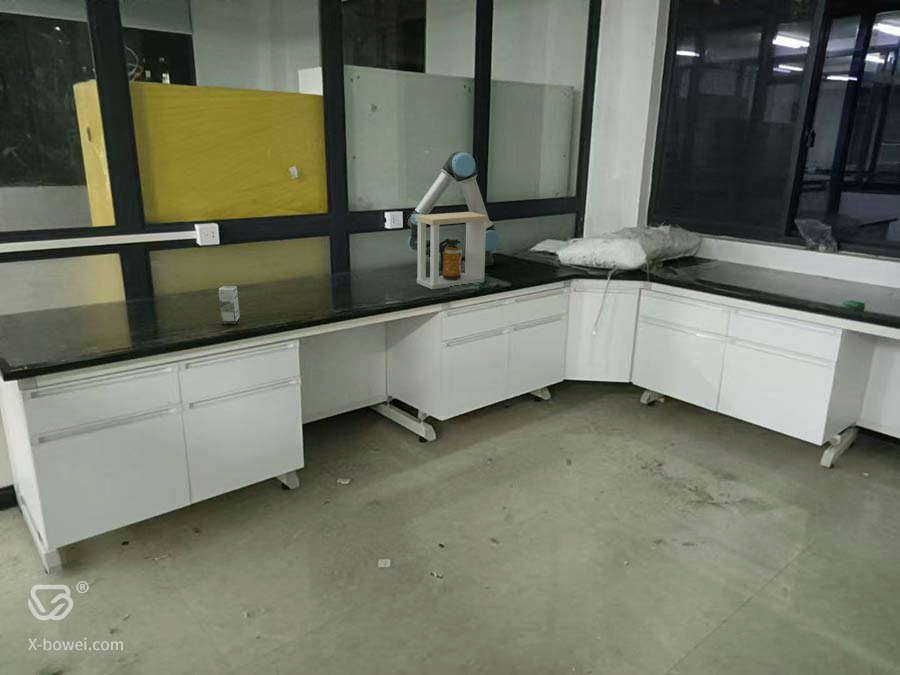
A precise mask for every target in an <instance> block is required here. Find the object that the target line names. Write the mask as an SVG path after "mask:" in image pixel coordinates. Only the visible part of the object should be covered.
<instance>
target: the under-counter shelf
mask: <svg viewBox="0 0 900 675" xmlns="http://www.w3.org/2000/svg"><path fill="white" fill-rule="evenodd" d="M487 215H488V214H487ZM487 215H482V214H478V213H473V212H470V211H462V212H461V211H460V212H459V211H458V212H446V213H434V214H433V213H431V214H430V213H429V214H428V215H416V216H415V221H418V251H417V278H416V284H418V285H421V286H422V287H423V286H424V287H426V288H429V289H431V290H438V289H443V288H444V289H445V288H451V287H450V286H452V287H455V286H454V285H459V286H462V285H461V284H466V285H469V284H468V283H473V284H476V283H475V282H480V283H485V271H486V270H485V268H486V266H485V243H486V221H488V218H489V215H488V216H487ZM463 223H465V258H464V259H465V260H464V262H465V263H464V264H465V265H464V272H461V278H459V279H457V280H447V279H445V278H443V275H440V272H439V271H440V270H439V268H440V258H439V243H440V225H451V224H452V225H453V224H463ZM427 225H430V239H429V240H430V257H429V260H430V262H429V263H430V264H429V277H428V276H427V270H426V269H427V266H426V265H427V255H426V239H427Z"/></svg>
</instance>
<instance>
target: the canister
mask: <svg viewBox="0 0 900 675" xmlns="http://www.w3.org/2000/svg"><path fill="white" fill-rule="evenodd" d="M459 244H461V241H460V240H459V239H448V238H446V239H444V240H443V241H441V242H439V245H440V248H441V250H440V260H439V271H441V272H442V276H443V278H445V279H447V280H457V279H459V278H461V273H462V255H461V253H460V249H461V248H460V246H458V245H459ZM443 248H445V250H444V252H443Z"/></svg>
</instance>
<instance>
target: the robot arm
mask: <svg viewBox="0 0 900 675" xmlns="http://www.w3.org/2000/svg"><path fill="white" fill-rule="evenodd" d="M440 171H441V172H440V173H439V175H438V176H437V178H436V179H435V181H434V182H433V183H432V184H431V185H430V187H429V189H428V190H427V192H426V193H425V194H424V196H423V198H422V199H421V200H420V202H419V203H418V204H417V206H416V207H415V209H414V210H413V211H412V213H411V214H410V215H411V216H410V217H409V219H408V223H407V225H408V227H409V226H410V227H409V228H410V236H409V238H408V239H407V247H408V248H410V249H411V250H413V251H416V252H418V221H415V216H416V215H430V213H431V211H432V210H433V208H434V207H435V206H436V204H437V203H438V201H439V200H440V199H441V198H442V196H443V195H444V193H445V192H446V190H447V189H448V188H449V186H450V185H451V184H452V182H453V181H456V183H457V184H459V185H460V188H461V190H462V193H463V196H464V200H465V201H466V202H465V203H466V206H467V208H468V212H473V213H478V214H482V215H487V216H488V221H486V243H485V267H488V266H493V265H494V257H493V254H492V251H494V250H496V249H497V248H498V247H499V245H500V243H501V237H500V235H499V233H498V232H497V230H496V227H495V224H494V222H492V221H491V220H490V217H489V215H488V212H487V210H486V207H485V204H484V201H483V197H482V194H481V191H480V188H479V185H478V182H477V179H476V178H477V176H478V173H477V169H476V161H475V159H474V157H473V156H472V155H471V154H470V153H468V152H463V151H455V152H453V153H451V154H450V156H449V157H448V158H447V160H446V162H444V165H443V166H442V167H441V169H440ZM440 250H441V248H440V245H439V259H441V255H440ZM444 250H445V248H443V253H444ZM460 253H461V256H463V249H461V248H460ZM426 256H428V258H430V239H427V238H426Z"/></svg>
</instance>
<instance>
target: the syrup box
mask: <svg viewBox="0 0 900 675" xmlns="http://www.w3.org/2000/svg"><path fill="white" fill-rule="evenodd" d="M238 293H239V292H238V286H236V285H222V286H221V287H219V288H218V297H219V310H220V317H221V318H220V319H221V322H222V321H237V320H238V319H239V317H240V308H239V306H240V305H239V296H238ZM240 318H241V317H240Z"/></svg>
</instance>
